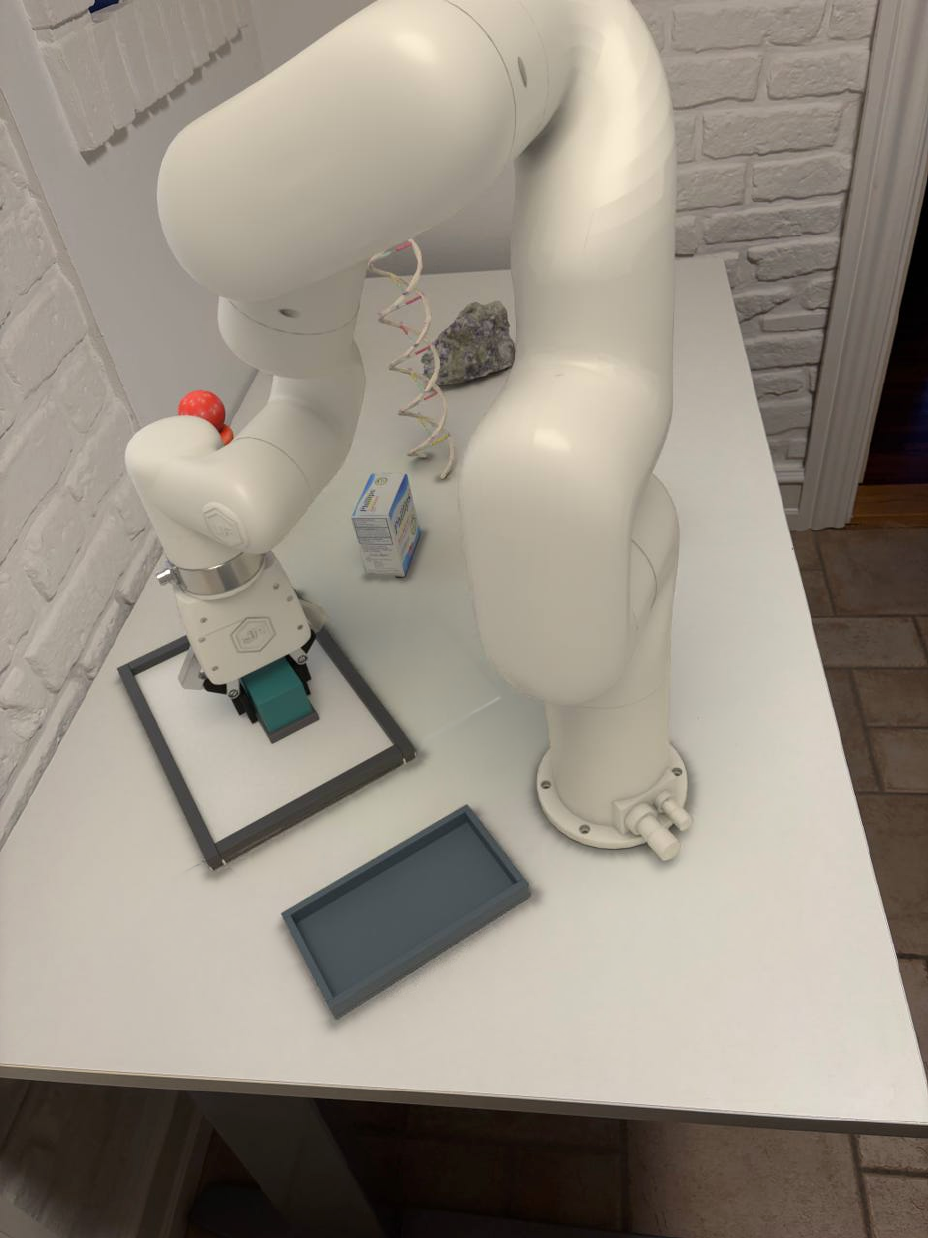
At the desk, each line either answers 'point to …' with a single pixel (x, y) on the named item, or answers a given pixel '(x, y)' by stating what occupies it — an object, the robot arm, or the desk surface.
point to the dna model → (407, 355)
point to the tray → (403, 909)
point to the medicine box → (386, 524)
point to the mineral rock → (472, 345)
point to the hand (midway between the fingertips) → (275, 698)
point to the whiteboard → (261, 749)
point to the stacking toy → (207, 411)
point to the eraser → (279, 699)
